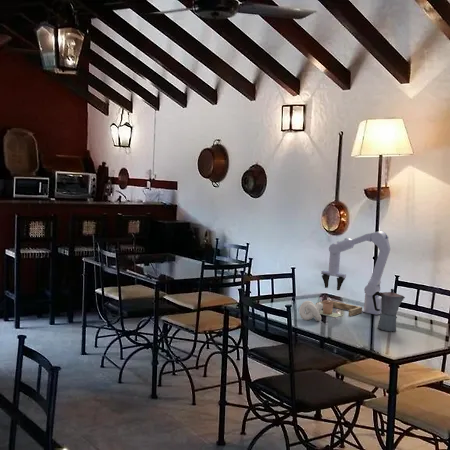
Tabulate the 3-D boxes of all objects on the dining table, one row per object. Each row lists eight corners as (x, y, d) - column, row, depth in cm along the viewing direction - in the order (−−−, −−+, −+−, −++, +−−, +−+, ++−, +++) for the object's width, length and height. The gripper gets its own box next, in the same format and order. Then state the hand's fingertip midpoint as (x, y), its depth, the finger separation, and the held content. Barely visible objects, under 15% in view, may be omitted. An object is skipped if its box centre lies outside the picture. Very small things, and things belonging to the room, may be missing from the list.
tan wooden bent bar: (361, 312, 332) (362, 307, 332) (350, 316, 323) (351, 310, 322) (327, 305, 346) (327, 300, 345) (315, 308, 336) (315, 303, 336)
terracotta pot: (334, 313, 327) (334, 300, 326) (331, 315, 322) (332, 302, 321) (323, 311, 329) (324, 299, 329) (320, 313, 324) (321, 301, 323)
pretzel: (328, 323, 306) (329, 305, 305) (305, 323, 303) (307, 305, 302) (318, 317, 317) (319, 300, 316) (296, 317, 313) (297, 300, 312)
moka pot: (404, 333, 295) (408, 291, 293) (372, 331, 295) (375, 289, 293) (399, 327, 304) (402, 287, 302) (367, 325, 305) (371, 285, 303)
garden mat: (343, 315, 324) (343, 314, 324) (335, 317, 318) (335, 317, 318) (319, 310, 333) (319, 309, 333) (312, 312, 326) (312, 311, 326)
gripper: (349, 266, 342) (347, 290, 343) (326, 262, 351) (324, 285, 353) (343, 267, 337) (341, 291, 338) (320, 263, 346) (318, 287, 347)
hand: (332, 288), depth 345 cm, fingers open, 7 cm apart
